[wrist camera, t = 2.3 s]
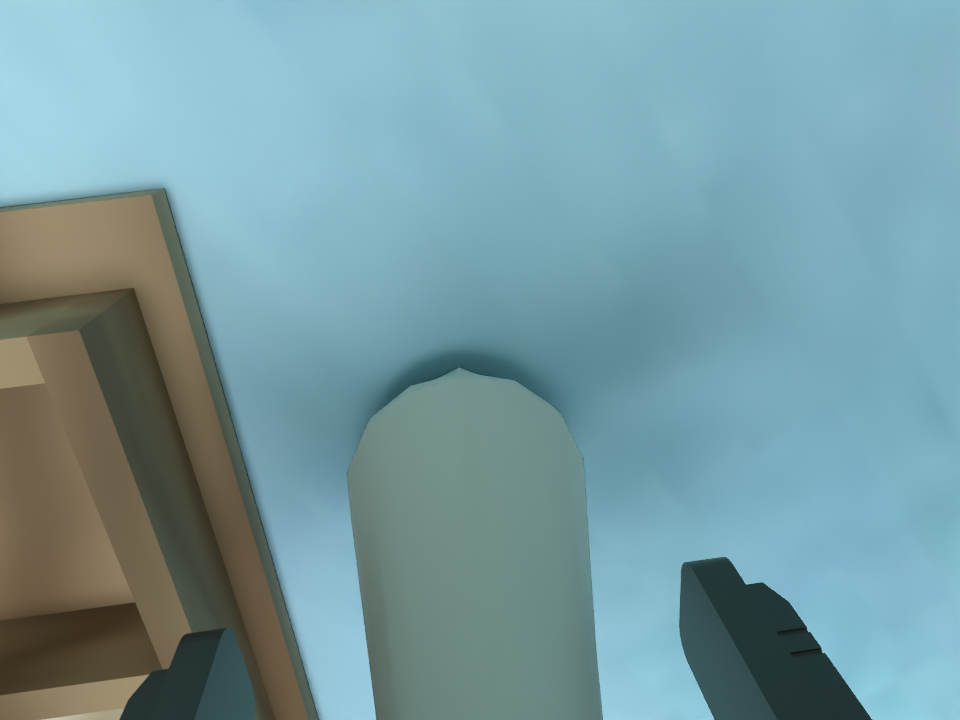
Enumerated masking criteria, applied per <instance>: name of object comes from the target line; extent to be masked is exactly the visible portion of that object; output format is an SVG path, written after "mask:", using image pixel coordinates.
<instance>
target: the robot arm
mask: <svg viewBox="0 0 960 720" xmlns="http://www.w3.org/2000/svg"><path fill="white" fill-rule="evenodd" d="M679 628H680V636H681V642H682V646H683V650H684V653H685V656H686V659H687V661H688V664H689V666H690V668H691V670H692V672H693V674H694V676H695V679H696V681H697V683H698V685H699V687H700V689H701V691H702V694H703V696H704V698H705V700H706V702H707V704H708V706H709V709H710V711H711V713H712V715H713V717H714V719H715V720H872V719H871V718H870V716H869V715H868V713H867V712H866V710H865V709H864V708H863V706H862V705H861V703H860V702H859V701H858V699H857V698H856V696H855V695H854V693H853V692H852V691H851V689H850V688H849V686H848V685H847V684H846V682H845V681H844V679H843V678H842V677H841V675H840V674H839V672H838V671H837V669H836V668H835V667H834V665H833V664H832V662H831V661H830V660H829V658H828V657H827V655H826V654H825V653H822V650H821V647H820V645H819V644H818V643H817V641H816V640H815V638H814V637H813V636H812V634H811V633H810V632H808V631H807V627H806V626H805V624H804V623H803V621H802V620H801V619H800V617H799V616H798V614H797V613H796V611H795V610H794V609H793V607H792V606H791V604H790V603H789V602H788V601H787V600H785V599H784V598H783V597H781V596H780V595H779V594H777V593H776V592H775V591H773V590H772V589H771V588H769V587H768V586H767V585H765V584H764V583H755V584H748V585H746V584H745V583H744V581H743V580H742V578H741V576H740V575H739V573H738V572H737V570H736V569H735V567H734V566H733V564H732V563H731V561H730V560H729V559H728V558H726V557H719V558H712V559H706V560H699V561H692V562H685V563H684V564H683V565H682V569H681V592H680V620H679ZM119 720H255V697H254V691H253V687H252V683H251V680H250V677H249V674H248V671H247V668H246V665H245V662H244V659H243V656H242V653H241V650H240V647H239V644H238V641H237V638H236V635H235V633H234V631H233V630H232V629H231V628H222V629H215V630H208V631H201V632H194V633H188V634H185V635H184V636H183V637H182V638H181V640H180V642H179V644H178V646H177V649H176V652H175V654H174V657H173V659H172V662H171V664H170V667H169V669H163V670H157V671H152V672H151V673H150V675H149V676H148V677H147V678H146V679H145V680H144V682H143V683H142V684H141V685H140V686H139V687H138V689H137V690H136V691H135V692H134V693H133V695H132V696H131V697H130V698H129V699H128V701H127V704H126V706H125V708H124V710H123V713H122V715H121V717H120V719H119Z"/></svg>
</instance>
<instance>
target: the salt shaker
mask: <svg viewBox="0 0 960 720" xmlns="http://www.w3.org/2000/svg"><path fill="white" fill-rule="evenodd" d="M347 482H348V492H349V501H350V511H351V521H352V529H353V537H354V545H355V553H356V560H357V568H358V576H359V584H360V592H361V600H362V608H363V616H364V624H365V632H366V640H367V648H368V656H369V664H370V672H371V680H372V688H373V696H374V704H375V712H376V720H603V715H602V705H601V694H600V684H599V674H598V663H597V653H596V640H595V625H594V610H593V594H592V579H591V564H590V549H589V534H588V518H587V503H586V488H585V473H584V458H583V456H582V454H581V452H580V450H579V448H578V446H577V444H576V442H575V440H574V438H573V436H572V434H571V432H570V430H569V428H568V426H567V424H566V423H565V421H564V419H563V417H562V415H561V414H560V413H559V412H558V410H557V409H556V408H555V407H554V406H552V405H551V404H549V403H548V402H546V401H545V400H543V399H542V398H540V397H539V396H537V395H536V394H534V393H533V392H531V391H530V390H528V389H527V388H525V387H524V386H522V385H521V384H519V383H518V382H516V381H515V380H509V379H503V378H496V377H490V376H483V375H478V374H476V373H473V372H470V371H468V370H465V369H463V368H460V367H459V368H457V369H455V370H453V371H451V372H449V373H447V374H444V375H442V376H440V377H438V378H436V379H434V380H431V381H427V382H423V383H419V384H415V385H411V386H409V387H408V388H407V389H406V390H405V391H403V392H402V393H401V394H400V395H398V396H397V397H396V398H395V399H393V400H392V401H391V402H390V403H388V404H387V405H386V406H385V407H383V408H382V409H381V410H380V411H378V412H377V413H376V414H375V415H373V416H372V417H371V418H370V420H369V422H368V424H367V426H366V428H365V431H364V433H363V435H362V437H361V440H360V442H359V444H358V447H357V449H356V451H355V454H354V456H353V458H352V461H351V463H350V465H349V468H348V470H347Z"/></svg>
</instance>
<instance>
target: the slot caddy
mask: <svg viewBox="0 0 960 720" xmlns="http://www.w3.org/2000/svg"><path fill="white" fill-rule="evenodd" d="M222 628H231V629H232V630H233V631H234V633H235V635H236V638H237V641H238V644H239V647H240V650H241V653H242V656H243V659H244V662H245V665H246V668H247V671H248V674H249V677H250V680H251V683H252V687H253V691H254V697H255V720H318V717H317V713H316V710H315V706H314V703H313V699H312V696H311V693H310V689H309V686H308V682H307V679H306V675H305V672H304V668H303V665H302V662H301V658H300V655H299V651H298V648H297V644H296V641H295V637H294V634H293V631H292V627H291V624H290V620H289V617H288V613H287V610H286V606H285V603H284V600H283V596H282V593H281V589H280V586H279V582H278V579H277V576H276V572H275V569H274V565H273V562H272V558H271V555H270V551H269V548H268V545H267V541H266V538H265V534H264V531H263V527H262V524H261V520H260V517H259V514H258V510H257V507H256V503H255V500H254V496H253V493H252V489H251V486H250V483H249V479H248V476H247V472H246V469H245V465H244V462H243V458H242V455H241V452H240V448H239V445H238V441H237V438H236V434H235V431H234V427H233V424H232V421H231V417H230V414H229V410H228V407H227V403H226V400H225V397H224V393H223V390H222V386H221V383H220V379H219V376H218V372H217V369H216V366H215V362H214V359H213V355H212V352H211V348H210V345H209V341H208V338H207V335H206V331H205V328H204V324H203V321H202V317H201V314H200V310H199V307H198V304H197V300H196V297H195V293H194V290H193V286H192V283H191V279H190V276H189V273H188V269H187V266H186V262H185V259H184V255H183V252H182V248H181V245H180V242H179V238H178V235H177V231H176V228H175V224H174V221H173V218H172V214H171V211H170V207H169V204H168V200H167V197H166V193H165V190H164V189H157V190H148V191H139V192H131V193H122V194H114V195H105V196H97V197H88V198H79V199H71V200H62V201H54V202H45V203H36V204H28V205H19V206H11V207H2V208H0V720H119V719H120V717H121V715H122V713H123V710H124V708H125V706H126V704H127V701H128V699H129V698H130V697H131V696H132V695H133V693H134V692H135V691H136V690H137V689H138V687H139V686H140V685H141V684H142V683H143V682H144V680H145V679H146V678H147V677H148V676H149V675H150V673H151V672H152V671H157V670H163V669H169V667H170V664H171V662H172V659H173V657H174V654H175V652H176V649H177V646H178V644H179V642H180V640H181V638H182V637H183V636H184V635H185V634H188V633H194V632H201V631H208V630H215V629H222Z"/></svg>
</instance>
